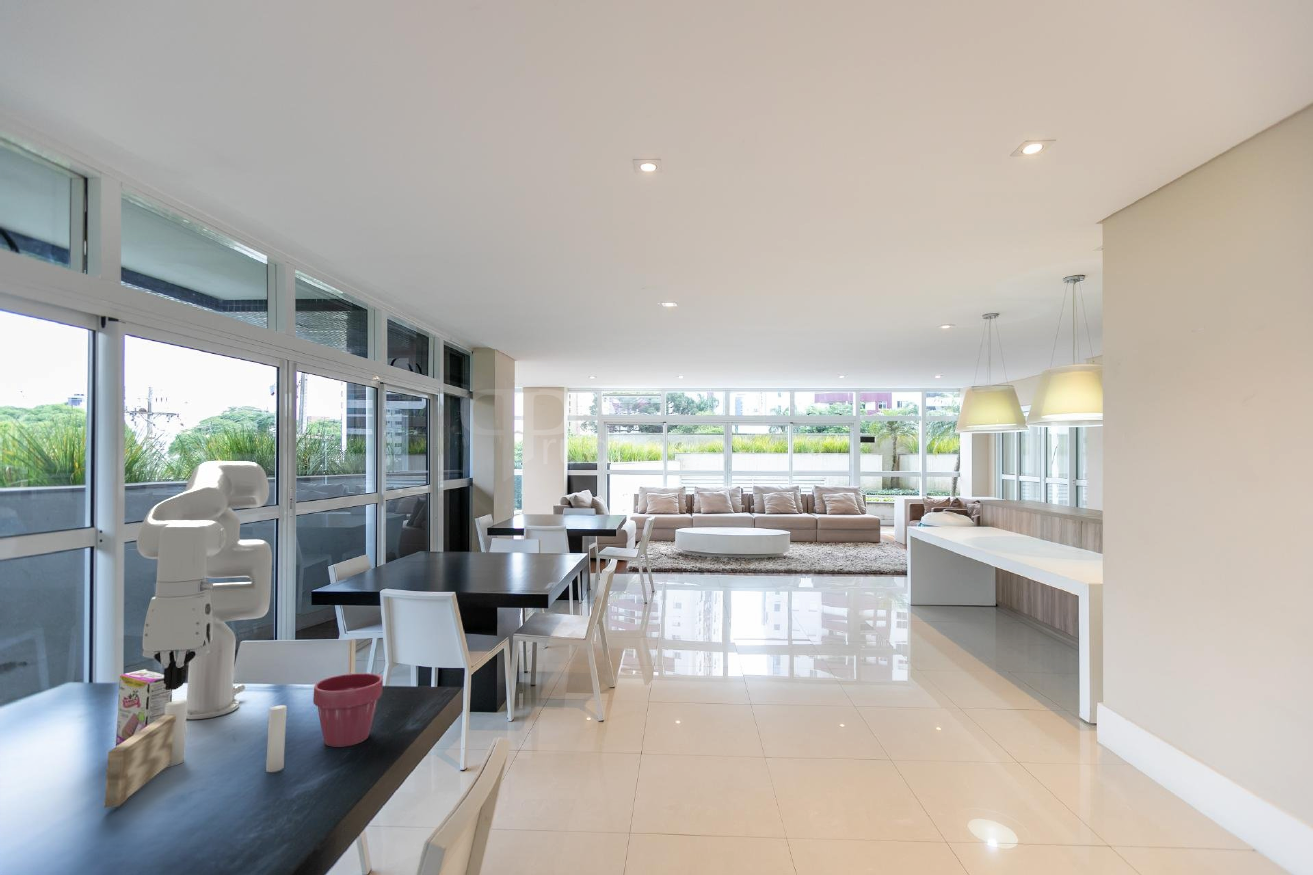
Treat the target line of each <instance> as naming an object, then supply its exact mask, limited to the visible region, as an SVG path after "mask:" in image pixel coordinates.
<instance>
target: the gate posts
mask: <svg viewBox="0 0 1313 875" xmlns="http://www.w3.org/2000/svg"><path fill="white" fill-rule="evenodd" d="M287 711H288V710H287V705H275V706H272V707H270V708H269V713H268V715H269V716H268V731H267V732H268V734H267V747H266V750H267V751H266V766H265V767H266V768H265V771H266V772H267V773H276V772H279V771H282V770H283V769H284V767H285V766H284V763H285V744H286V743H285V742H286V724H287ZM186 713H187V699H177V700H172V701H171V702H168V703H166V706H165V715H176V722H174V727H173V743H172V758H171V763H170V764H169V765H167V766H166V767H165V768H167V767H174V766H177V765H180V764H181V763H183V762H184V758H185V743H186V742H185V741H186V727H187V726H186V725H187V724H186V723H187V719H186Z"/></svg>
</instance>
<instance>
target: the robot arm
mask: <svg viewBox="0 0 1313 875" xmlns="http://www.w3.org/2000/svg"><path fill="white" fill-rule="evenodd" d="M269 496H270V483H269V480H268V477H267V474H266V471H265V470H264V468H263V467H262V466H261V465H260V464H258V463H256V462H252V461H233V460H231V461H229V460H228V461H227V460H226V461H225V460H223V461H222V460H213V461H212V460H211V461H206V462H203V463H201V464H199V465H198V466H196V467H195V468H194V470H193V472H192V474H191V476H190V478H188V480H187V482H186V487H185V490H184V491H183V492H182V493H179V494H176V495H174V496H172V497H170V498H168V499H164V500H163V501H161V502H159V503H157V504H156V505H154V506H153V507H151V509H149V511H148V512H147V514H146V516H145V517H144V519H143V521H142V524H141V525H140V528H139V530H138V534H137V538H136V549H137V552H138V553H139V554H140V555H141V556H142V557H143V558H146V559H150V560H151V559H152V560H157V566H156V568H157V569H156V583H155V584H156V585H155V595H154V596H153V597H151V599H150V602H149V605H148V609H147V611H146V616H145V621H144V626H143V632H142V649H143V650H142V656H141V657H143V658H148V659H155V661H157V662H158V663H159V664H160V665H161V668H163V669H164V670H163V671H164V672H163V674H164V684H166V686H165V690H170V689H172V691H173V690H177V689H178V688H180V687H182V686H183V684H184V683H185V682H186V681H187V687H186V689H187V691H186V700H187V713H186V720H203V719H211V718H215V717H220V716H222V715H223V716H224V715H226V714H229V713H232V712H233V711H235V710H237V709H238V708H240V701H239V700H238V699H236V696H237V695H238V694H239V693H243V692H244V691H245V690H246V689H245V688H246V686H245V685H244V684H242V683H241V684H238V685H236V686H234V674H235V672H234V671H235V659H236V657H235V656H236V635H235V632H234V631H233V630H232V629H231V628H230V626H229V625H228V624H226V622H231V621H242V620H253V619H260V618H263V617H265V616H266V615H267V613H269V609H270V604H271V591H272V590H271V588H272V570H273V569H272V568H273V567H272V565H273V553H272V549H271V548H272V547H271V546H270V543H268V542H267V541H265V540H262V539H241V538H240V532H241V531H240V529H241V521H240V518H239V515H237V514H236V512H235V511H234V510H233V509H236V508H237V509H238V508H239V509H241V508H243V509H253V508H254V509H255V508H260V507H262V506H264V505H265V504H267V502H268V499H269ZM207 578H208V579H228V578H229V579H231V578H249V579H250V581H241V582H240V581H239V582H219V583H218V582H217V583H213V582H212V581H211V582H209V581H207ZM176 652H178V654H177V656H176ZM176 658H177V659H176ZM187 664H188V665H187ZM187 666H188V667H187ZM187 669H188V672H187ZM187 674H188V675H187ZM186 679H187V680H186Z"/></svg>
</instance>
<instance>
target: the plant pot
mask: <svg viewBox="0 0 1313 875" xmlns="http://www.w3.org/2000/svg"><path fill="white" fill-rule="evenodd" d="M383 680H384V678H383V676H381V675H380V674H376V673H367V672H366V673H359V672H358V673H347V674H346V673H345V674H339V675H334V676H331V677H327V678H324V679H322V680H320V681H318V682H316V683H315V685H314V687H313V699H312V700H313V701H312V703H313V704H314V706H316V707H317V710H318V716H319V724H320V727H321V732H322V733H321V734H322V738H323V742H324V744H325V745H326V746H329V747H335V748H337V747H338V748H339V747H340V748H342V747H349V746H354V745H357V744H359V743H363V742H364V741H366V740H367V739H368V738H369V735H370V732H371V729H372V728H371V727H372V725H373V720H374V717H375V712H376V708H377V705H378V704H377V703H378V699H380V698H381V697H382V695H383V687H384V686H383V685H384V684H383V683H384V681H383Z"/></svg>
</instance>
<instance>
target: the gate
mask: <svg viewBox="0 0 1313 875" xmlns="http://www.w3.org/2000/svg"><path fill="white" fill-rule="evenodd" d="M174 722H176V715H163V716H162V717H160V718H159V719H157V720H156V721H154V722H153V723H151V724H150V725H148V726H147V727H145V728H144V729H142V730H140V731H139V732H137V733H136V734H134V735H133V736H131V737H130V738H128V739H127V740H125V741H124V742H122V743H121V744H119V745H118V746H116V745H115V747H113V748H111V749H110V750H109V751H108V752H107V766H106V767H107V768H106V782H105V796H104V808H112V807H120V806H121V805H122V804H123V803H125V802H126V801H127V799H128V798H129V797H130V796H132V795H133V794H134V793H135V792H137V791H138V790H139V789H140V788H142V787H143V786H145V784H147V782H149V781H150V780H152V778H154V777H155V776H156V775H157V774H159V773H160V772H161V771H163V770H164V769H165V768H167V767H166V766H167V765H169V764H170V763H171V758H172V743H173V727H174Z"/></svg>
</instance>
